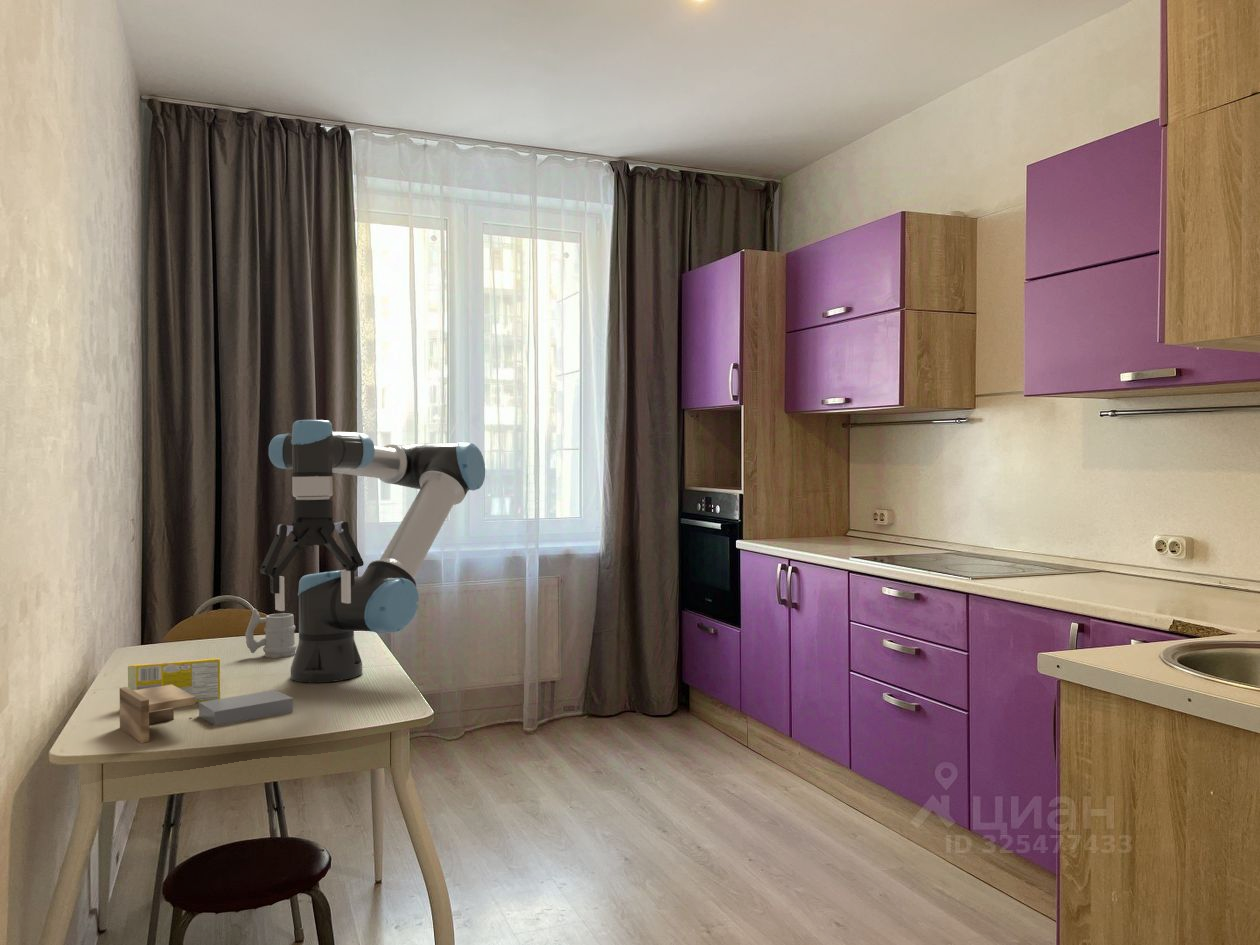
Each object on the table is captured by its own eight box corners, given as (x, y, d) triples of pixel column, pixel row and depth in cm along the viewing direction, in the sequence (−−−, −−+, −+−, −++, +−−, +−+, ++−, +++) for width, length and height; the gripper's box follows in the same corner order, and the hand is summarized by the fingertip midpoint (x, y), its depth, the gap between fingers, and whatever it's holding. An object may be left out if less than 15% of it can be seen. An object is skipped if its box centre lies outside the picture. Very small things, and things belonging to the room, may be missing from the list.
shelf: (172, 718, 166) (171, 680, 166) (195, 732, 156) (195, 692, 156) (119, 727, 160) (119, 688, 160) (141, 743, 151) (141, 701, 151)
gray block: (274, 705, 177) (274, 689, 177) (293, 714, 170) (292, 698, 170) (199, 718, 167) (198, 702, 167) (214, 728, 161) (214, 711, 161)
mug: (299, 655, 223) (298, 607, 223) (247, 661, 217) (247, 611, 217) (293, 650, 229) (293, 603, 229) (243, 655, 223) (243, 607, 223)
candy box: (220, 698, 181) (220, 657, 181) (220, 701, 179) (219, 659, 179) (129, 706, 175) (129, 663, 175) (127, 709, 173) (127, 666, 173)
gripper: (362, 496, 189) (363, 598, 189) (241, 499, 172) (242, 611, 172) (379, 496, 184) (380, 601, 184) (256, 500, 167) (257, 615, 167)
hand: (313, 606), depth 178 cm, fingers open, 13 cm apart
